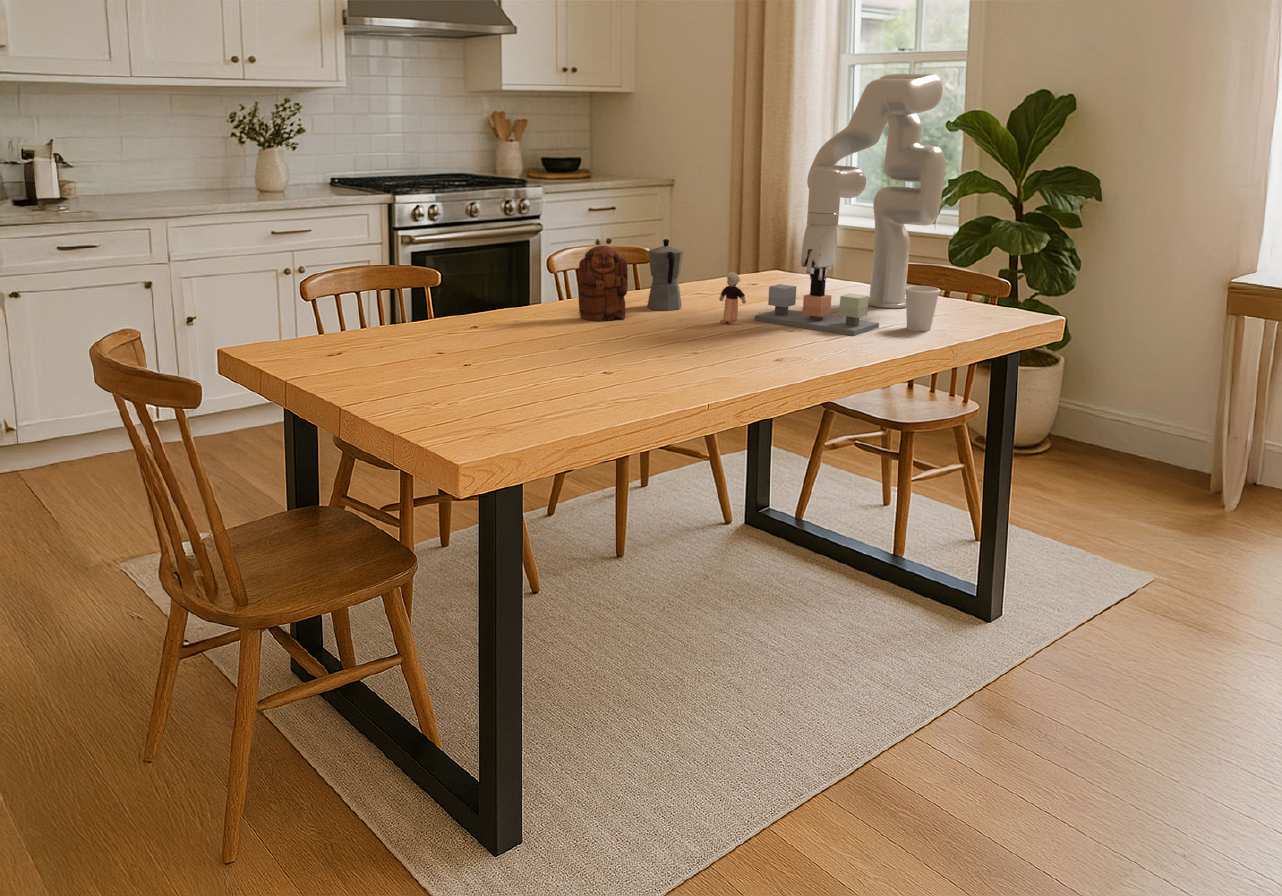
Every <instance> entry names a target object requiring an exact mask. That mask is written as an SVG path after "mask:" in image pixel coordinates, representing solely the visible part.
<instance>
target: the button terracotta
mask: <svg viewBox="0 0 1282 896" xmlns="http://www.w3.org/2000/svg"><path fill="white" fill-rule="evenodd" d="M802 302H803V303H802V312H803V315H810V316H817V317H822V316H826V315H828V316H830V315H831V308H832V295H831V294H825V295H824V296H821V297H819V296H812V295H810V293H808V294H805V295H803V301H802Z"/></svg>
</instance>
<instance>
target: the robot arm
mask: <svg viewBox="0 0 1282 896" xmlns="http://www.w3.org/2000/svg"><path fill="white" fill-rule="evenodd" d="M943 88H944V87H943V82H942V80H941V79H940V77H939V76H937V75H936V74H934V73H933V74H932V73H891V74H890V73H889V74H885V75H883V76H881V77H880V78H879V79H874V80H872V81H870V82H869V83H868V84H867V85H865V87H864V89H863V92H862V94H861V96H860V99H858V100H859V101H858V103H857V105H856V107H855V110H854V112H853V113H852V115H851V118H850V120H849V122H848V125H847V126H846V127H845V128H843V129H842V130H840V131H838V132H837V133H836V134H835V135H833V136H832V137H831V138H830V139H829V140H827V142H825V143H824V144H823V145H822V146H820V148H819V149H818V151H817V153H816V154H815V157H814V159H813V162H812V164H811V166H810V167H809V171H808V175H807V181H806V182H807V188H808V202H807V216H806V227H805V229H804V230H805V231H804V234H803V238H802V239H803V241H802V248H801V256H800V265H801V267H804V268H806V271H805V273H807V274H809V279H810V286H809V287H810V290H809V291H810V292H809V294H810V295H812V296H819V297H821V296H824V295H826V282H827V281H826V280H827V278H828V274H829V273H828V272H829V271H831V269H833V268H832V267H833V266H834V264H836V260H837V254H838V253H837V252H838V227H839V217H840V216H839V215H840V204H841V201H840V200H841V198H842V199H852V198H853V199H854V198H856V197H858V196H860V195H862V193H863V192H864V191H865V189H866V185H867V178H866V174H865V173H864V171H863V170H862V169H861V168H859V167H856V166H852V165H851V166H850V165H849V166H848V165H837V163H838V162H839V161H841V160H842V159H843V158H845V157H848V156H849V155H853V154H855V153H859V152H861V151H864V150H866V149H869V148H871V147H872V146H875V145H876V144H877V143H878V142H879V140H880V138H881V136H882V133H883V132H884V129H885V127H886V125H888V127H887V128H888V131H887V140H886V146H885V147H886V148H885V156H884V168H883V169H884V174H885V177H886V178H887V179H888V180H891V181H895V182H903V183H904V182H906V183H917V184H919V183H920V184H919V185H920V187H910V186H895V185H894V186H886V187H883V188H880V189H879V190H878V191H877V192H876V194H875V196H874V198H873V206H872V207H873V217H874V240H873V253H872V263H871V273H870V274H871V275H870V287H869V298H868V307H869V306H870V307H875V308H884V309H899V308H901V309H902V308H906V290H905V288H906V287H907V282H908V281H907V278H908V270H909V258H910V247H911V238H910V234H909V232H908V230H907V228H906V226H905V225H912V226H930V225H933V224H934V223H935V222H936V221H937V219H938V216H939V213H940V209H941V204H942V197H943V190H944V189H943V188H944V181H945V176H946V165H947V162H946V156H945V152H944V151H943V150H942V148H940V147H938V146H935V145H925V144H921V139H922V129H923V128H922V127H923V126H922V125H923V124H922V121H921V119H920V117H919V114H920V113H923V112H927V111H929V110H933V109H934V108H936V107H937V106H938V104H939V103H940V101H941V100H942V96H943V91H944V90H943Z"/></svg>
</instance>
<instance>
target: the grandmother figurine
mask: <svg viewBox="0 0 1282 896" xmlns="http://www.w3.org/2000/svg"><path fill="white" fill-rule="evenodd" d="M726 278H727V279H726V280H727V281H726V283H727V286H726V287H724V288H723V290H722V291H721V293H720V296H719V301H720V302H723V301H724V311H723V318H722V319H721V320H720V321H719V323H721V324H727V323H728V325H737V324H739V322H738V315H739V314H738V313H739V299H740V300H741V304H746V303H747V301H746V296H745V295H746V294H745V293H744V292H743V291H742V289H740V288H739V287H737V285H738V283H739V282H741V279H740V276H739V275H738V274H737V272H734V271H730V272H728V273H727V275H726ZM724 298H725V300H724Z"/></svg>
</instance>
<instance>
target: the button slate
mask: <svg viewBox="0 0 1282 896" xmlns="http://www.w3.org/2000/svg"><path fill="white" fill-rule="evenodd" d="M796 298H797V286H796V285H789V284H782V283H781V284H780V283H779V284H778V283H777V284H774V285H770V286H768V301H767V305H768V306H774V307H775V306H778V307H788V308H789V307H792V306H796Z"/></svg>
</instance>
